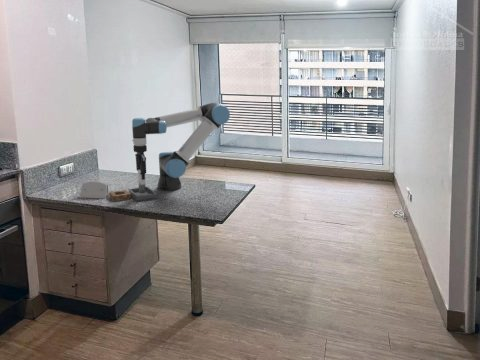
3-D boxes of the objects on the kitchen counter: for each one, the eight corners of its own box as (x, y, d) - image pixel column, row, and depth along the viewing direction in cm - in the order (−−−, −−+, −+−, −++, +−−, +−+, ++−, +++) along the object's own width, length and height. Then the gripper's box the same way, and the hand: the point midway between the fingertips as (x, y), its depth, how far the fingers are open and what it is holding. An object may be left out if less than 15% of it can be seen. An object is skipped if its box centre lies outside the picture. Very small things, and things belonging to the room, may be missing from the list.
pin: (144, 191, 278) (143, 168, 274) (146, 192, 274) (145, 169, 271) (138, 192, 276) (136, 169, 272) (140, 193, 272) (138, 170, 269)
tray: (147, 191, 286) (147, 186, 285) (157, 198, 271) (157, 193, 270) (128, 193, 280) (128, 189, 280) (137, 201, 265) (137, 196, 264)
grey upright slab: (78, 197, 273) (79, 180, 274) (82, 197, 278) (83, 181, 279) (106, 198, 272) (107, 181, 273) (109, 198, 277) (109, 181, 278)
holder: (126, 194, 279) (125, 189, 278) (130, 198, 270) (130, 194, 269) (109, 197, 274) (109, 192, 273) (113, 201, 265) (113, 196, 265)
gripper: (129, 143, 273) (131, 181, 279) (137, 147, 259) (140, 187, 265) (141, 142, 277) (143, 179, 283) (150, 146, 262) (152, 186, 268)
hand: (142, 183), depth 274 cm, fingers closed on pin, 4 cm apart
